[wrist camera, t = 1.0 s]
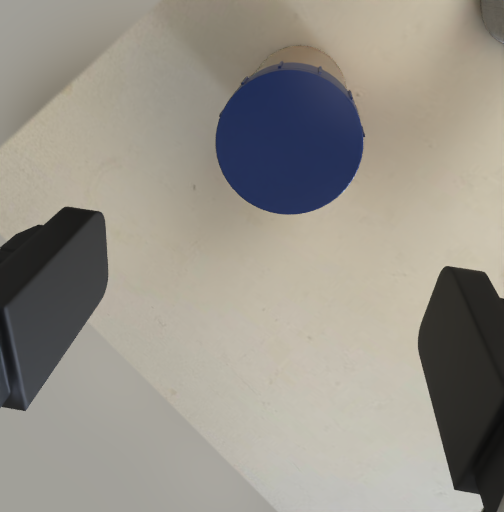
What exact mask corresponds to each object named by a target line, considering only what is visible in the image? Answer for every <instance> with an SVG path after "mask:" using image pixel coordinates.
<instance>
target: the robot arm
mask: <svg viewBox="0 0 504 512" xmlns="http://www.w3.org/2000/svg"><path fill="white" fill-rule="evenodd" d="M107 282H108V259H107V243H106V227H105V219H104V216H103V214H102V213H101V212H99V211H93V210H86V209H80V208H73V207H64V208H63V209H61V210H60V211H59V212H58V213H57V214H56V215H55V216H53V217H52V218H51V219H50V220H49V221H48V222H47V223H46V224H44V225H37V226H34V227H32V228H30V229H27V230H25V231H23V232H20V233H18V234H16V235H15V236H13V237H12V238H11V239H10V240H9V241H7V242H6V243H5V244H4V245H3V246H2V247H0V407H6V408H11V409H17V410H23V411H26V409H27V408H28V406H29V405H30V404H31V402H32V401H33V399H34V397H35V396H36V395H37V393H38V392H39V390H40V389H41V388H42V386H43V385H44V383H45V382H46V380H47V379H48V377H49V376H50V374H51V373H52V371H53V370H54V368H55V367H56V366H57V364H58V363H59V361H60V360H61V358H62V357H63V355H64V354H65V352H66V351H67V349H68V348H69V347H70V345H71V343H72V342H73V341H74V339H75V338H76V336H77V335H78V333H79V332H80V330H81V329H82V327H83V326H84V325H85V323H86V322H87V320H88V319H89V317H90V316H91V314H92V313H93V311H94V310H95V308H96V307H97V306H98V304H99V303H100V301H101V300H102V298H103V296H104V293H105V290H106V287H107ZM418 350H419V355H420V359H421V363H422V367H423V371H424V375H425V378H426V382H427V386H428V390H429V394H430V398H431V401H432V405H433V409H434V413H435V417H436V421H437V425H438V428H439V432H440V436H441V440H442V444H443V448H444V451H445V455H446V459H447V463H448V467H449V471H450V475H451V478H452V482H453V486H454V490H459V491H464V492H470V493H475V494H480V496H481V499H482V503H483V506H484V507H483V509H482V511H481V512H504V299H503V298H499V296H498V294H497V292H496V290H495V289H494V287H493V285H492V283H491V281H490V280H489V278H488V276H487V274H486V273H485V272H482V271H476V270H470V269H463V268H457V267H450V266H446V267H444V268H443V269H442V271H441V273H440V274H439V277H438V279H437V282H436V285H435V288H434V290H433V293H432V296H431V298H430V301H429V304H428V306H427V309H426V312H425V314H424V317H423V320H422V322H421V326H420V330H419V336H418Z"/></svg>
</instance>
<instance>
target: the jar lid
mask: <svg viewBox="0 0 504 512" xmlns="http://www.w3.org/2000/svg"><path fill="white" fill-rule="evenodd" d="M219 117H220V119H219V122H218V126H217V131H216V153H217V158H218V162H219V165H220V168H221V170H222V173H223V175H224V176H225V178H226V180H227V181H228V183H229V184H230V186H231V187H232V188H233V189H234V190H235V191H236V192H237V193H238V194H239V195H240V196H241V197H242V198H243V199H245V200H246V201H247V202H249V203H251V204H252V205H254V206H256V207H258V208H260V209H263V210H266V211H269V212H273V213H277V214H301V213H306V212H310V211H314V210H316V209H319V208H321V207H323V206H325V205H327V204H328V203H330V202H331V201H333V200H334V199H336V198H337V197H338V196H339V195H340V194H341V193H342V192H343V191H344V190H345V189H346V188H347V187H348V185H349V184H350V183H351V181H352V180H353V178H354V176H355V174H356V172H357V170H358V168H359V165H360V162H361V158H362V152H363V137H365V134H364V130H363V127H362V126H361V122H360V118H359V115H358V111H357V108H356V105H355V103H354V100H353V97H352V93H351V91H350V90H349V91H347V89H346V88H345V87H344V86H343V84H342V83H340V82H339V81H338V80H337V79H336V78H335V77H334V76H332V75H331V74H330V73H328V72H326V71H324V70H322V67H321V66H319V68H318V67H315V66H312V65H309V64H304V63H294V62H290V63H283V61H280V63H279V64H276V65H272V66H269V67H266V68H264V69H262V70H260V71H258V72H256V73H255V74H253V75H252V76H250V77H249V78H248V76H247V77H246V78H245V79H244V80H243V82H242V83H241V85H240V87H239V88H238V89H237V90H236V92H235V93H234V94H233V96H232V97H231V98H230V100H229V101H228V103H227V104H226V106H225V108H224V109H223V111H222V112H221V113H220V115H219Z"/></svg>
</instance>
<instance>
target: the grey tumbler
mask: <svg viewBox="0 0 504 512" xmlns="http://www.w3.org/2000/svg"><path fill="white" fill-rule="evenodd" d="M481 13H482V18H483V22H484V24H485V26H486V28H487V30H488V31H489V33H490V34H491V35H492V36H493V37H494V38H495V39H496V40H498V41H499V42H501V43H503V44H504V0H481Z"/></svg>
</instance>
